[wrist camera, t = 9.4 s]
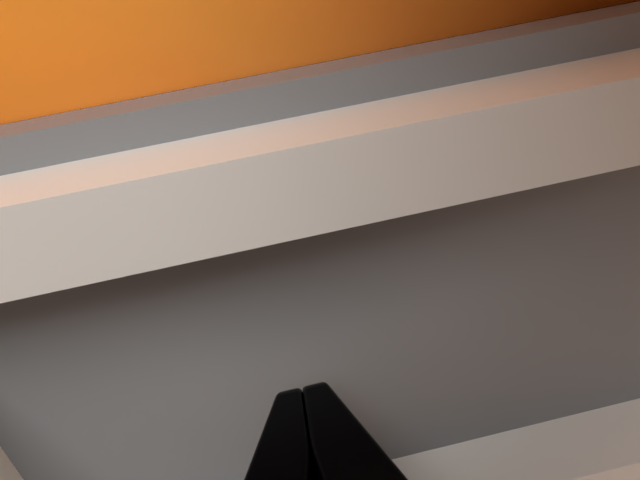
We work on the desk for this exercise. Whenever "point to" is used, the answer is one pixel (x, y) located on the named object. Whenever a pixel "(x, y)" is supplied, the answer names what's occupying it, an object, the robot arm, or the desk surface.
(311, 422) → the robot arm
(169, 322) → the rail board
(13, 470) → the block
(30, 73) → the desk surface
